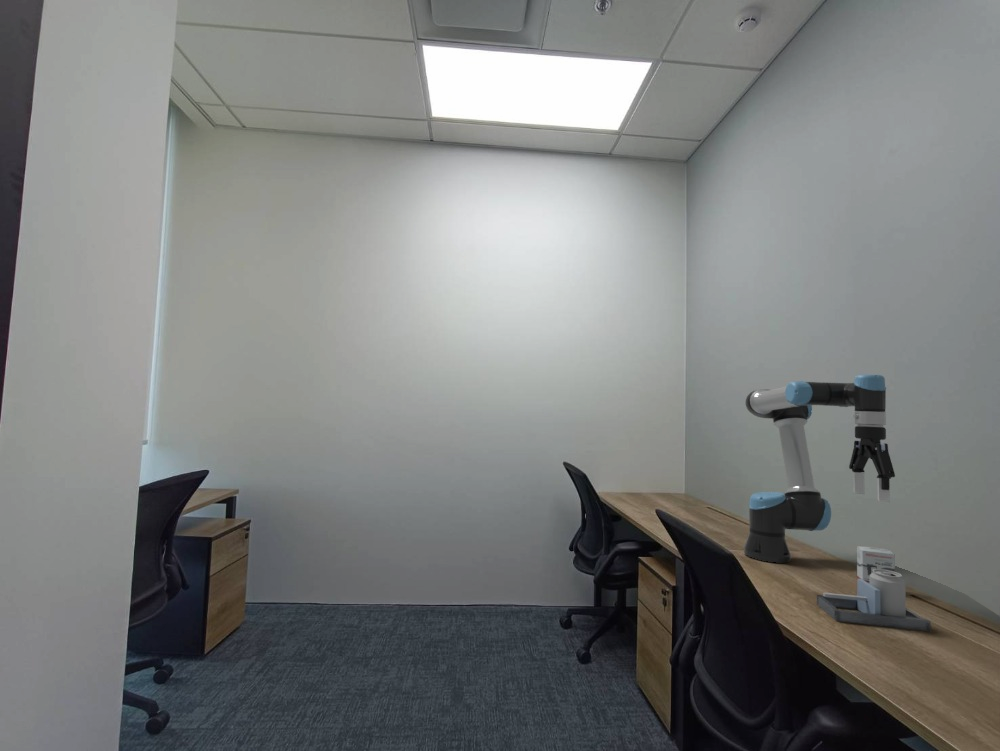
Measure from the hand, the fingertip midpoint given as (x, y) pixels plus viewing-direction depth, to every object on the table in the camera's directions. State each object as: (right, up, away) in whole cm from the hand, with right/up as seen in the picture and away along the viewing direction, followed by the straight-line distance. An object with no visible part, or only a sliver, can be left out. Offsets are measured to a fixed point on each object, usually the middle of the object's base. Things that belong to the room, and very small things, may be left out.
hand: (870, 497), depth 148 cm
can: (-9, -27, -19) cm, 34 cm away
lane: (-13, -27, -18) cm, 35 cm away
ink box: (+5, -30, +5) cm, 30 cm away
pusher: (-19, -27, -17) cm, 37 cm away
